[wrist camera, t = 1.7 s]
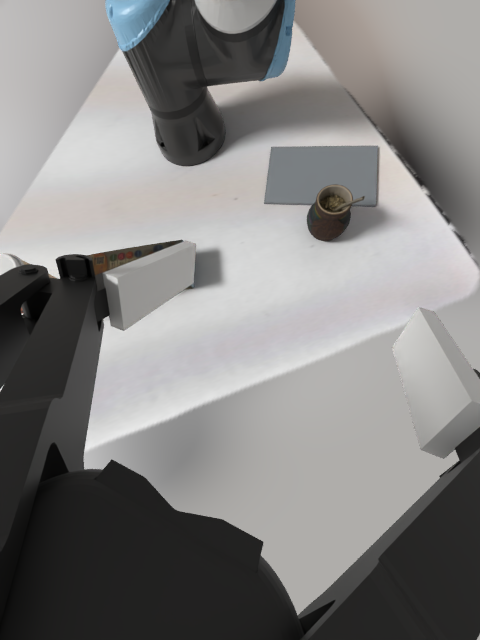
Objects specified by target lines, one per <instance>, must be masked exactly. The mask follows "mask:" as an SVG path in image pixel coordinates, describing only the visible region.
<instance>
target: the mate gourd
mask: <svg viewBox="0 0 480 640" xmlns="http://www.w3.org/2000/svg"><path fill="white" fill-rule="evenodd" d="M364 198H365V196H363V197H361V198H358V199H355V200H353V196H352V193H351V192H350V190H349V189H347V188H346V187H344V186H342V185H338V184H333V185H329V186H326V187H324V188H323V189H321V190H320V191H319V193H318V194H317V197H316V202H315V203H314V204H313V205H312V206H311V208H310V209H309V212H308V215H307V224H308V229H309V231H310V233H311V234H312V235H313V236H314V237H315V238H316V239H318V240H322V241H330V240H332V239H334V238H336V237H338V236H339V235H341V234H342V233H343V232H344V230H345V229H346V228H347V226H348V224H349V221H350V215H351V213H350V208H351V206H352V204H354V203H357V202H359V201H362V200H364Z"/></svg>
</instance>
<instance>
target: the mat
mask: <svg viewBox="0 0 480 640" xmlns="http://www.w3.org/2000/svg"><path fill="white" fill-rule="evenodd" d="M377 153H378V146H312V147H271V154H270V162H269V169H268V177H267V185H266V192H265V200H264V204H289V205H313V204H314V203H315V202H316V197H317V194H318V193H319V191H320V190H321V189H323V188H324V187H326V186H329V185H333V184H338V185H342V186H344V187H346V188H347V189H349V190H350V192H351V193H352V196H353V200H355V199H358V198H361V197H363V196H365V198H364V200H362V201H359V202H357V203H354V204H352V206H367V207H375V206H376V187H377Z"/></svg>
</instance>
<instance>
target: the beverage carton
mask: <svg viewBox="0 0 480 640" xmlns="http://www.w3.org/2000/svg"><path fill="white" fill-rule="evenodd" d="M181 242H184V241H183V240H178V241H170V242H165V243H157V244H151V245H145V246H139V247H132V248H126V249H121V250H114V251H109V252H103V253H97V254H92V255H87V256H89V257H91V258H92V261H93V267H94V272H95V275H97V274H100V273H103V272H105V271H108V270H110V269H113V268H116V267H119V266H121V265H123V264H126V263H129V262H132V261H135V260H137V259H140V258H142V257H145V256H148V255H150V254H153V253H155V252H158V251H161V250H163V249H166V248H168V247H171V246H174V245H176V244H179V243H181ZM192 288H194V283H193V284H192V285H190V286H189V287H187V288H186V289H192ZM184 290H185V289H184Z"/></svg>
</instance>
